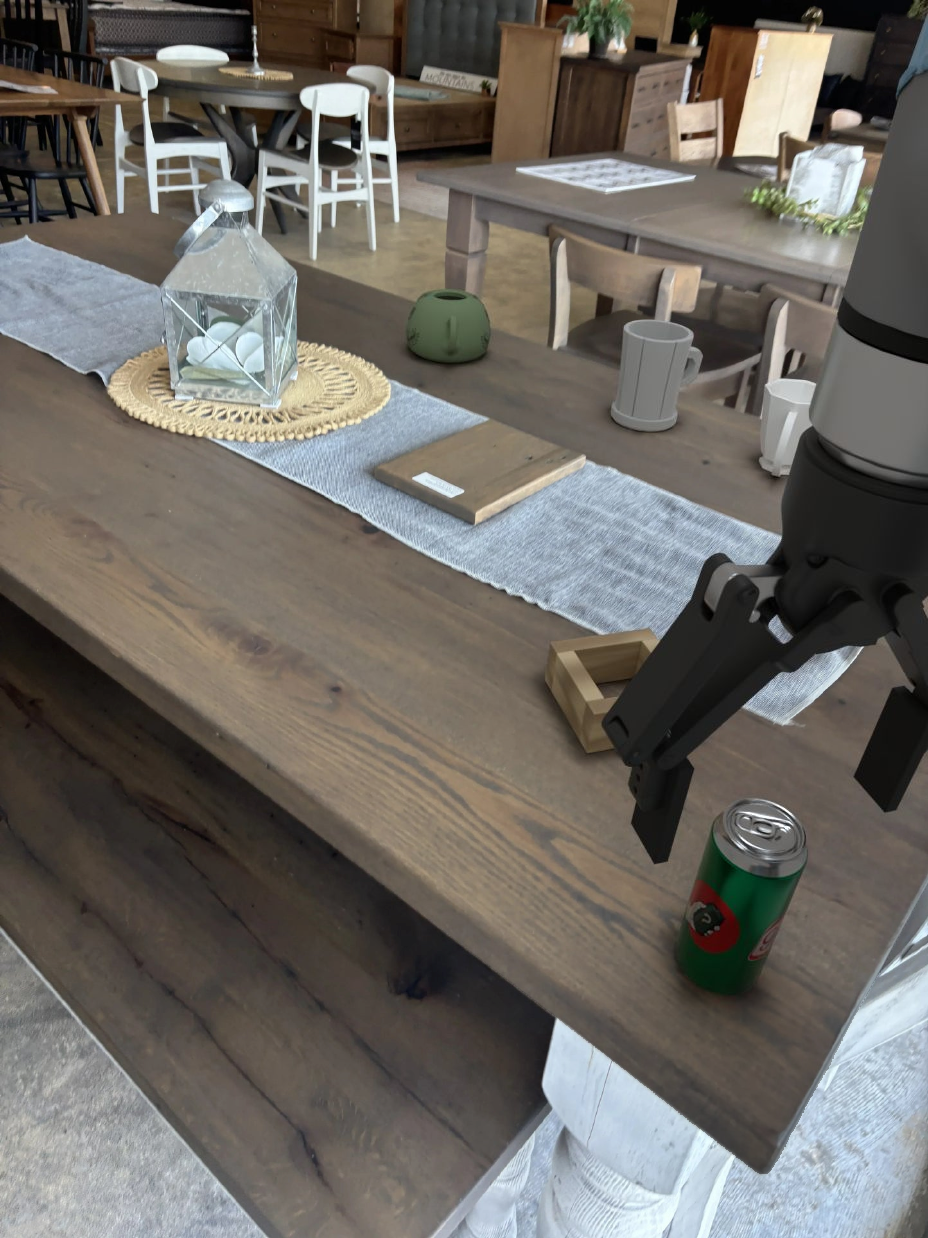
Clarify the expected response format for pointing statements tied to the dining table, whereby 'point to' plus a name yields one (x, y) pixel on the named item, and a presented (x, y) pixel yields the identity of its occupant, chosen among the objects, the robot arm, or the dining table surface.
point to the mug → (448, 326)
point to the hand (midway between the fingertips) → (765, 817)
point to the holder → (594, 677)
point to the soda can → (740, 895)
